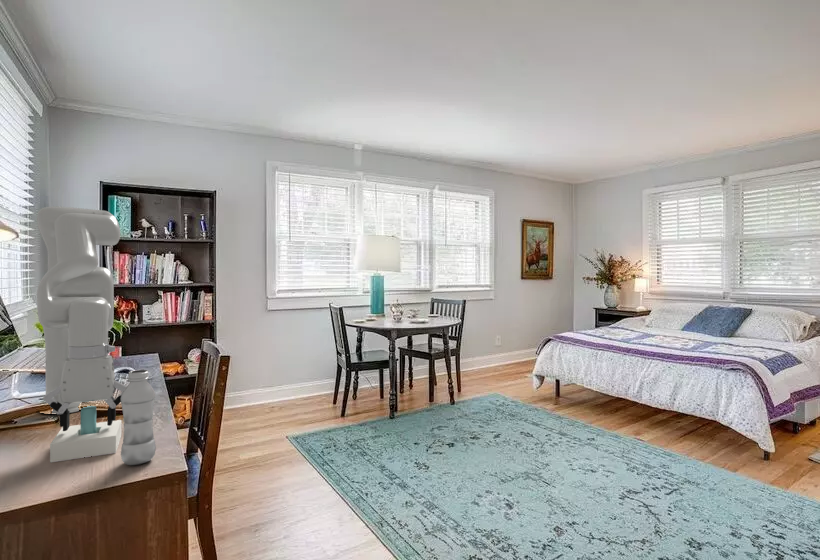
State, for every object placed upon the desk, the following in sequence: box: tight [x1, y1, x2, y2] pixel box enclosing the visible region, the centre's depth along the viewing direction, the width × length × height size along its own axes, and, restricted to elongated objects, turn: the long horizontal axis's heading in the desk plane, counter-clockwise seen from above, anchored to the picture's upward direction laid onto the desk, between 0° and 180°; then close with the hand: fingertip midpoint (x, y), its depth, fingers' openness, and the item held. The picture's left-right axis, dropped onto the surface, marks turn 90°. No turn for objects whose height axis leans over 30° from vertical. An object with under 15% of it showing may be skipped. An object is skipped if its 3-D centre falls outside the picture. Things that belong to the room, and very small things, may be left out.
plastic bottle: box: [120, 369, 157, 466], centre depth 98 cm, size 6×7×20 cm
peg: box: [80, 405, 97, 435], centre depth 106 cm, size 3×3×10 cm
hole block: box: [49, 419, 123, 463], centre depth 106 cm, size 12×12×4 cm
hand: (88, 426), depth 106 cm, fingers open, 8 cm apart
